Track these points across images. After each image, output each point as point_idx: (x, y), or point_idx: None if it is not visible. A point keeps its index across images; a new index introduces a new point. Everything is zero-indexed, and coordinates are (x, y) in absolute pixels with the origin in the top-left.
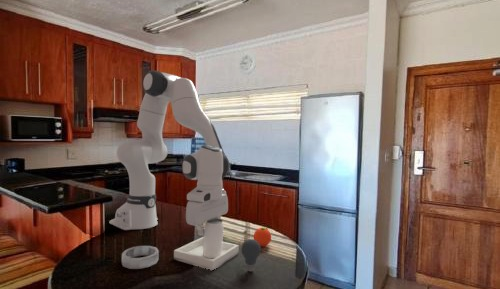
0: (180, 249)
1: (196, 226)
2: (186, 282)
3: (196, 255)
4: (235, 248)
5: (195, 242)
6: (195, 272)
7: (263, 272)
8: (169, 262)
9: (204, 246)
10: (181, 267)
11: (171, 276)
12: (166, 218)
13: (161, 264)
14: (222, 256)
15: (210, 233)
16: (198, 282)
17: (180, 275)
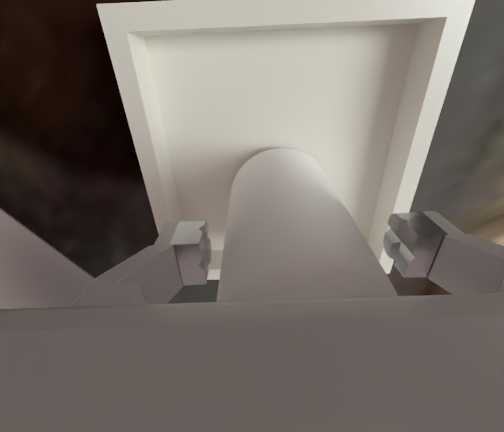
0: (150, 31)
1: (104, 281)
2: (54, 236)
3: (159, 193)
4: None
5: (332, 23)
6: (124, 215)
7: None
8: (80, 29)
9: (232, 199)
10: (102, 138)
11: (21, 163)
12: None
13: (24, 5)
14: None
15: None
16: (89, 262)
17: (60, 186)
